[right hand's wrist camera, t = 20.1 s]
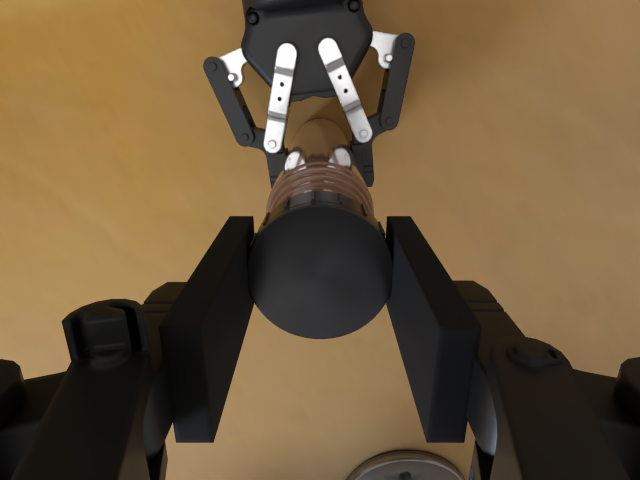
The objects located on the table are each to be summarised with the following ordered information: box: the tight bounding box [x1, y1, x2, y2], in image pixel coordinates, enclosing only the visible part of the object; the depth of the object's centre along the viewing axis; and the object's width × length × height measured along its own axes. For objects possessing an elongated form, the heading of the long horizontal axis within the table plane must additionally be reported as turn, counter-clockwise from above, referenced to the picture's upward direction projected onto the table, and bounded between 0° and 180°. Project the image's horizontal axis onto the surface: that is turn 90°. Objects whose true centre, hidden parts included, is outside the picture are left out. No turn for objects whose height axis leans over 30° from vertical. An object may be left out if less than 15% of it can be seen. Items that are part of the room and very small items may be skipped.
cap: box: [247, 190, 393, 339], centre depth 13 cm, size 4×4×2 cm
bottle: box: [266, 119, 374, 216], centre depth 25 cm, size 5×5×25 cm
